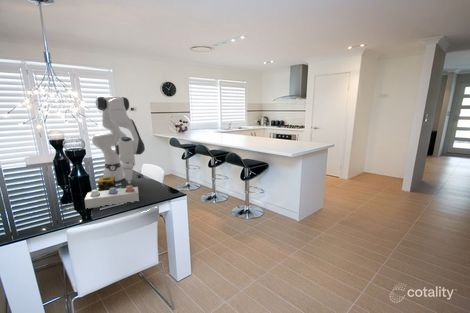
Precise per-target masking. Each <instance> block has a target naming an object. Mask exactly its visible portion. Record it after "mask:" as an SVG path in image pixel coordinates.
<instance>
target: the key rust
mask: <svg viewBox="0 0 470 313" xmlns="http://www.w3.org/2000/svg"><path fill="white" fill-rule="evenodd" d="M133 187H134V186H133V185H132V184H129V185H126V186H125V188H126V189H127V192H133Z"/></svg>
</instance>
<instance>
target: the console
mask: <svg viewBox="0 0 470 313" xmlns="http://www.w3.org/2000/svg"><path fill="white" fill-rule="evenodd" d="M116 192H117V194H110V192H109V190H106V191H99V196H93V197H92V194H91V191H89V192H87V194H86V195H85V197H84V206H85V209H87V208H88V209H92V208H93V209H94V208H100V206H102V207H106V206H105V205H109V206H113V205H112V204H116V205H120V204H119V203H123V204H128V203H127V202H131V203H135V202H134V201H138V202H140V195H139V187H138V186H133V192H127V189H126V187H123V188H116ZM88 209H87V210H88Z"/></svg>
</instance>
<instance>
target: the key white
mask: <svg viewBox="0 0 470 313" xmlns="http://www.w3.org/2000/svg"><path fill="white" fill-rule="evenodd" d="M90 192H91V194H92V197H93V196H99V190H98V189H92V190H91V191H90Z"/></svg>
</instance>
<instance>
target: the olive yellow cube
mask: <svg viewBox="0 0 470 313" xmlns="http://www.w3.org/2000/svg"><path fill="white" fill-rule="evenodd" d="M97 186H98V188H97V190H99V191H106V190H109V189H110V188H116V189H117V184H116V181H115V176H113V177H104V176H102V177H100V176H99V179H98V180H97Z"/></svg>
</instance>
